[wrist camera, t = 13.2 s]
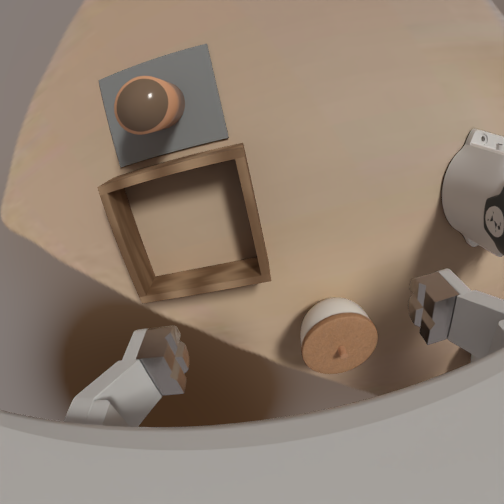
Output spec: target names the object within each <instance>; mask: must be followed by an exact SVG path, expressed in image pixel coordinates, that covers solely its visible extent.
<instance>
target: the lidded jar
mask: <svg viewBox="0 0 504 504" xmlns="http://www.w3.org/2000/svg"><path fill="white" fill-rule="evenodd" d="M377 340H378V334H377V330H376V328H375V326H374V324H373V323H372V321H371V320H370V318H369V316H368V315H367V313H366V312H365V311H364V310H363V309H362V308H361V307H360V306H359V305H358V304H357V303H355V302H353V301H351V300H349V299H346V298H340V297H333V298H328V299H324V300H322V301H320V302H318V303H317V304H315V305H314V306H313V307H312V308H311V309H310V310H309V311H308V312H307V314H306V315H305V317H304V319H303V322H302V325H301V331H300V342H301V352H302V357H303V360H304V362H305V363H306V365H307V366H308V367H310V368H311V369H312V370H314V371H316V372H320V373H324V374H337V373H342V372H346V371H348V370H351V369H353V368H355V367H357V366H359V365H360V364H362V363H363V362H364V361H365V360H366V359H367V358H368V357H369V356H370V355H371V354H372V352H373V351H374V349H375V347H376V344H377Z"/></svg>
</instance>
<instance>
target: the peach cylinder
mask: <svg viewBox="0 0 504 504" xmlns="http://www.w3.org/2000/svg"><path fill="white" fill-rule="evenodd" d="M184 109H185V98H184V95H183V93H182V91H181V90H180V89H179V88H178V87H177V86H176V85H174V84H172V83H170V82H167V81H164V80H161V79H158V78H155V77H151V76H139V77H135V78H133V79H131V80H129V81H128V82H127V83H125V84H124V85H123V86H122V88H121V89H120V90H119V92H118V94H117V96H116V99H115V103H114V113H115V117H116V119H117V121H118V123H119V125H120V126H121V127H122V128H123V129H124V130H126V131H128V132H130V133H133V134H138V135H142V134H148V133H152V132H155V131H159V130H163V129H167V128H169V127H171V126H173V125H175V124H176V123H177V122H178V121H179V120H180V118H181V117H182V115H183V112H184Z"/></svg>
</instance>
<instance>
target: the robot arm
mask: <svg viewBox="0 0 504 504" xmlns="http://www.w3.org/2000/svg"><path fill="white" fill-rule="evenodd" d="M481 138H482V140H481ZM442 204H443V209H444V213H445V216H446V218H447V220H448V222H449V223H450V224H451V226H452V227H453V228H454V229H456V230H457V231H459V232H460V233H462V234H463V236H464V238H465V240H466V242H467V243H468V244H469V245H470V246H472V247H476V246H478V245H480V246H481V247H483V248H485V249H486V250H488V251H490V252H491V253H493V254H494V255H496V256H498V257H502V256H503V255H504V137H503V136H500V135H497V134H493V133H490V132H486V131H483V130H479V129H472V130H471V131H470V133H469V135H468V138H467V140H466V143H465V145H464V146H463V148H462V149H461V150H460V151H459V152H458V153H457V154H456V155H455V157H454V158H453V159H452V161H451V163H450V164H449V167H448V169H447V171H446V174H445V177H444V182H443V188H442ZM410 290H411V292H412V293H413V294H412V295H411V297H410V298H409V302H408V309H409V315H410V318H411V320H412V322H413V323H414V325H416V326H419V327H420V334H421V336H422V337H423V339H424V340H425V342H426V344H427V345H429V344H432V343H435V342H438V341H441V340H445V339H448V340H449V341H451V342H452V343H454V344H456V345H458V346H459V347H461V348H463V349H464V350H466V351H468V352H469V353H471V354H473V355H474V356H476V357H477V358H479V359H478V360H476V361H473V362H471V363H469V364H467V365H464V366H462V367H460V368H457V369H455V370H452V371H450V372H447V373H445V374H442V375H440V376H437V377H434V378H432V379H429V380H426V381H423V382H420V383H418V384H415V385H412V386H409V387H406V388H403V389H399V390H396V391H393V392H390V393H386V394H383V395H380V396H376V397H373V398H369V399H365V400H362V401H358V402H354V403H350V404H346V405H341V406H337V407H333V408H328V409H324V410H319V411H314V412H309V413H304V414H298V415H293V416H286V417H280V418H274V419H267V420H260V421H251V422H243V423H234V424H222V425H211V426H210V425H209V426H192V427H138V425H140V423H141V422H142V421H143V419H144V418H145V417H146V416H147V415H148V413H149V412H150V411H151V410H152V408H153V407H154V406H155V405H156V403H157V402H158V401H159V400H160V398H161V397H162V395H174V394H183V393H184V392H185V386H186V381H187V378H186V377H185V375H184V374H185V373H186V371H188V369H189V354H188V350H187V348H186V346H185V344H184V343H183V342H181V341H180V340H179V339H180V332H179V330H178V328H177V327H176V326H167V327H157V328H149V329H140V330H136V331H134V333H133V336H132V337H131V340H130V342H129V345H128V347H127V350H126V352H125V354H124V357H123V359H122V361H118V362H116V363H115V364H114V365H113V366H112V367H110V368H109V369H108V370H107V371H106V372H104V373H103V374H102V375H101V376H100V377H98V378H97V379H96V380H95V381H94V382H92V383H91V384H90V385H89V386H88V387H86V388H85V389H84V390H83V391H82V392H80V393H79V394H78V395H77V396H75V397H74V399H73V401H72V403H71V406H70V408H69V410H68V412H67V415H66V417H65V419H64V421H56V420H49V419H43V418H37V417H32V416H26V415H21V414H16V413H11V412H7V411H3V410H0V504H504V300H503V299H500V298H497V297H494V296H491V295H489V294H486V293H483V292H480V291H477V290H473V291H471V290H470V289H469V288H468V287H467V286H466V285H465V284H464V283H463V282H462V281H461V280H460V279H459V278H458V277H457V276H456V275H455V274H454V273H453V272H452V271H451V270H450V269H448V268H446V269H442V270H439V271H436V272H434V273H431V274H427V275H423V276H420V277H416V278H412V279H411V282H410Z"/></svg>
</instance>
